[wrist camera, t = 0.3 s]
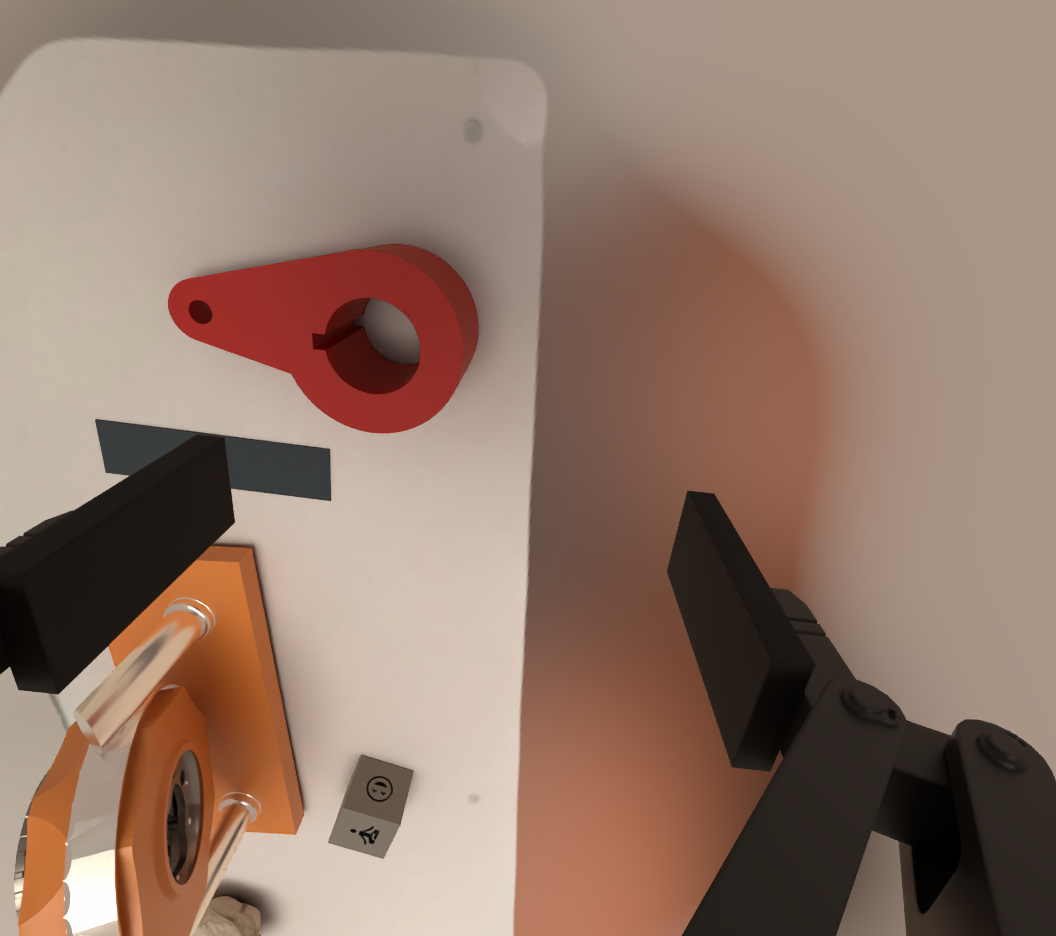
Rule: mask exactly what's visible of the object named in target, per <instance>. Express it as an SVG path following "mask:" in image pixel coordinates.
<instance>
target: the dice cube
mask: <svg viewBox="0 0 1056 936" xmlns="http://www.w3.org/2000/svg"><path fill="white" fill-rule="evenodd" d="M412 775H413V771H412V770H408V769H405V768H402V767H399V766H395V765H392V764H389V763H386V762H382V761H379V760H376V759H373V758H370V757H366V756H363V755H361V757H360V759H359V762H358V764H357V766H356V769H355V771H354V774H353V776H352V778H351V781H350V783H349V785H348V788H347V791H346V793H345V796H344V799H343V802H342V805H341V807H340V810H339V813H338V816H337V819H336V822H335V824H334V827H333V830H332V833H331V836H330V838H329V841H328V843H330V844H334V845H337V846H341V847H344V848H348V849H351V850H355V851H358V852H362V853H365V854H369V855H372V856H376V857H379V858H383V859H384V857H385V855H386V853H387V851H388V849H389V847H390V845H391V843H392V841H393V839H394V837H395V835H396V832H397V830H398V828H399V826H400V824H401V820H402V816H403V812H404V808H405V804H406V800H407V796H408V791H409V787H410V783H411V779H412Z"/></svg>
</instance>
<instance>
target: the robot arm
mask: <svg viewBox="0 0 1056 936" xmlns="http://www.w3.org/2000/svg"><path fill="white" fill-rule="evenodd" d="M234 523H235V519H234V511H233V503H232V494H231V486H230V478H229V470H228V462H227V454H226V445H225V437H217V436H208V435H200V434H197V435H195V436H193V437H192V438H190V439H189V440H187V441H185V442H184V443H182V444H181V445H179V446H177V447H176V448H174V449H173V450H171V451H169V452H168V453H166V454H164V455H163V456H161V457H160V458H158V459H156V460H155V461H153V462H152V463H150V464H148V465H147V466H145V467H143V468H142V469H140V470H139V471H137V472H135V473H134V474H132V475H131V476H129V477H127V478H126V479H124V480H122V481H121V482H119V483H118V484H116V485H114V486H113V487H111V488H110V489H108V490H106V491H105V492H103V493H102V494H100V495H98V496H97V497H95V498H93V499H92V500H90V501H89V502H87V503H85V504H84V505H82V506H81V507H79V508H77V509H76V510H74V511H70V512H67V513H64V514H61V515H59V516H56V517H53V518H51V519H48V520H45V521H43V522H42V523H40V524H38V525H37V526H35V527H33V528H32V529H30V530H28V531H27V532H25V533H24V535H23V536H19V537H17V538H15V539H14V540H12V541H10V542H9V543H7V544H6V547H0V674H1V673H2V672H4V671H5V670H6V669H7V668H8V667H11V670H12V673H13V676H14V679H15V682H16V684H17V687H18V690H24V691H32V692H43V693H51V694H59V693H60V692H61V691H62V690H63V689H64V688H65V687H66V686H68V685H69V684H70V683H71V682H72V681H73V680H74V679H75V678H76V677H77V676H78V675H79V674H80V673H81V672H82V671H83V670H84V669H85V668H86V667H87V666H88V665H89V664H90V663H91V662H92V661H93V660H94V659H95V658H96V657H97V656H98V655H99V654H100V653H101V652H102V651H103V650H104V649H105V648H107V647H108V646H109V645H110V644H111V643H112V642H113V641H114V640H115V639H116V638H117V637H118V636H119V635H120V634H121V633H122V632H123V631H124V630H125V629H126V628H127V627H128V626H129V625H130V624H131V623H132V622H133V621H134V620H135V619H136V618H137V617H138V616H139V615H140V614H141V613H142V612H143V611H144V610H146V609H147V608H148V607H149V606H150V605H151V604H152V603H153V602H154V601H155V600H156V599H157V598H158V597H159V596H160V595H161V594H162V593H163V592H164V591H165V590H166V589H167V588H168V587H169V586H170V585H171V584H172V583H173V582H174V581H175V580H176V579H177V578H178V577H179V576H180V575H181V574H182V573H183V572H185V571H186V570H187V569H188V568H189V567H190V566H191V565H192V564H193V563H194V562H195V561H196V560H197V559H198V558H199V557H200V556H201V555H202V554H203V553H204V552H205V551H206V550H207V549H208V548H209V547H210V546H211V545H212V544H213V543H214V542H215V541H216V540H217V539H218V538H219V537H220V536H221V535H222V534H224V533H225V532H226V531H227V530H228V529H229V528H230V527H231V526H232V525H233V524H234ZM667 573H668V576H669V579H670V582H671V585H672V588H673V591H674V594H675V597H676V600H677V603H678V606H679V609H680V612H681V615H682V618H683V621H684V624H685V627H686V630H687V633H688V636H689V639H690V642H691V645H692V648H693V651H694V654H695V657H696V660H697V664H698V667H699V670H700V673H701V676H702V679H703V682H704V684H705V688H706V691H707V694H708V697H709V699H710V703H711V706H712V709H713V712H714V715H715V718H716V721H717V724H718V727H719V730H720V733H721V736H722V739H723V742H724V745H725V748H726V751H727V754H728V757H729V760H730V763H731V766H732V767H734V768H744V769H753V770H762V771H771V769H772V767H773V764H774V762H775V759H776V757H777V755H778V752H779V750H780V751H781V754H782V756H783V760H782V762H781V764H780V765H779V767H778V769H777V771H776V773H775V774H774V776H773V778H772V779H771V781H770V783H769V784H768V786H767V788H766V790H765V791H764V793H763V795H762V797H761V798H760V800H759V802H758V804H757V806H756V807H755V809H754V811H753V812H752V814H751V816H750V818H749V819H748V821H747V823H746V825H745V826H744V828H743V830H742V832H741V833H740V835H739V837H738V839H737V840H736V842H735V844H734V846H733V847H732V849H731V851H730V853H729V854H728V856H727V858H726V860H725V861H724V863H723V865H722V866H721V868H720V870H719V872H718V873H717V875H716V877H715V879H714V880H713V882H712V884H711V886H710V887H709V889H708V891H707V893H706V894H705V896H704V898H703V900H702V901H701V903H700V905H699V906H698V908H697V910H696V912H695V913H694V915H693V917H692V919H691V920H690V922H689V924H688V926H687V928H686V929H685V931H684V933H683V935H682V936H836V934H837V931H838V928H839V925H840V922H841V919H842V916H843V913H844V911H845V908H846V905H847V902H848V899H849V896H850V893H851V890H852V887H853V884H854V881H855V878H856V875H857V872H858V869H859V866H860V863H861V860H862V858H863V854H864V852H865V848H866V846H867V843H868V840H869V837H870V834H871V831H875V832H877V833H880V834H882V835H885V836H887V837H890V838H892V839H895V840H898V841H899V850H900V863H901V875H902V887H903V899H904V912H905V925H906V936H1056V780H1055V778H1054V775H1053V773H1052V770H1051V769H1050V767H1049V766H1048V764H1047V763H1046V761H1045V760H1044V758H1043V757H1042V756H1041V755H1040V754H1039V753H1038V752H1037V751H1035V749H1034V748H1033V747H1032V746H1030V745H1029V744H1028V743H1027V742H1025V741H1024V740H1023V739H1021V738H1019V737H1018V736H1017V735H1015V734H1013V733H1011V732H1010V731H1007V730H1005V729H1003V728H1001V727H999V726H997V725H995V724H992V723H988V722H985V721H981V720H964V721H962V722H960V723H959V724H958V725H957V726H956V728H955V730H954V731H953V733H952V735H951V736H950V735H947V734H944V733H942V732H939V731H936V730H933V729H930V728H927V727H924V726H921V725H918V724H915V723H912V722H910V721H907V720H906V718H905V716H904V714H903V713H902V711H901V709H900V708H899V707H898V705H897V704H896V703H895V702H894V701H892V699H890V698H889V697H888V696H887V695H886V694H884V693H883V692H881V691H879V690H878V689H877V688H875V687H873V686H871V685H868V684H866V683H864V682H862V681H859V680H856V679H855V677H854V676H853V674H852V673H851V671H850V670H849V668H848V667H847V665H846V664H845V662H844V661H843V659H842V658H841V656H840V655H839V653H838V652H837V650H836V649H835V647H834V646H833V644H832V643H831V641H830V640H829V638H828V637H826V634H825V632H824V631H823V629H822V627H821V626H820V624H817V620H816V619H815V617H814V615H813V614H812V612H811V611H810V609H809V608H808V606H807V605H806V604H805V603H804V602H803V601H801V600H800V599H799V598H798V597H796V596H795V595H794V594H793V593H792V592H791V591H789V590H785V589H776V588H770V587H769V585H768V583H767V582H766V580H765V578H764V577H763V575H762V573H761V572H760V570H759V568H758V567H757V565H756V563H755V562H754V560H753V558H752V557H751V555H750V553H749V551H748V550H747V548H746V547H745V545H744V543H743V541H742V540H741V538H740V536H739V535H738V533H737V531H736V530H735V528H734V526H733V524H732V523H731V521H730V520H729V518H728V516H727V514H726V513H725V511H724V509H723V508H722V506H721V504H720V503H719V501H718V499H717V498H716V496H715V494H713V493H704V492H694V491H687V495H686V499H685V503H684V506H683V510H682V514H681V518H680V522H679V526H678V530H677V534H676V538H675V542H674V545H673V549H672V553H671V557H670V561H669V565H668V569H667Z"/></svg>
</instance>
